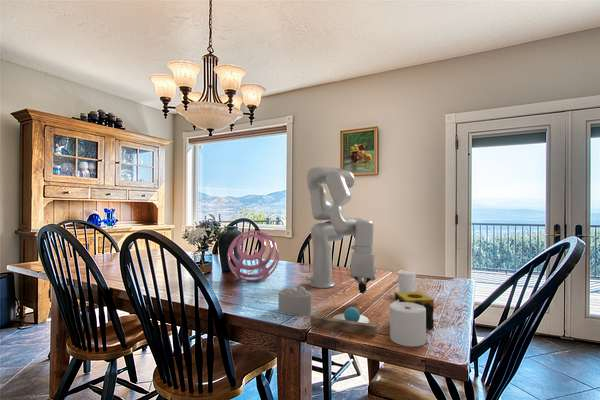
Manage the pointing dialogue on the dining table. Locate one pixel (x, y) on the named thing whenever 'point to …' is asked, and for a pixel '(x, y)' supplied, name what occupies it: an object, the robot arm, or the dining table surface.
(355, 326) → the stopper rail
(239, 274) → the spiral basket
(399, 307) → the toilet tissue
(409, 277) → the white cup
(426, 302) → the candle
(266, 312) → the dining table surface
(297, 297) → the lumpy-topped squat cylinder
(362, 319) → the disc
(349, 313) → the ball
